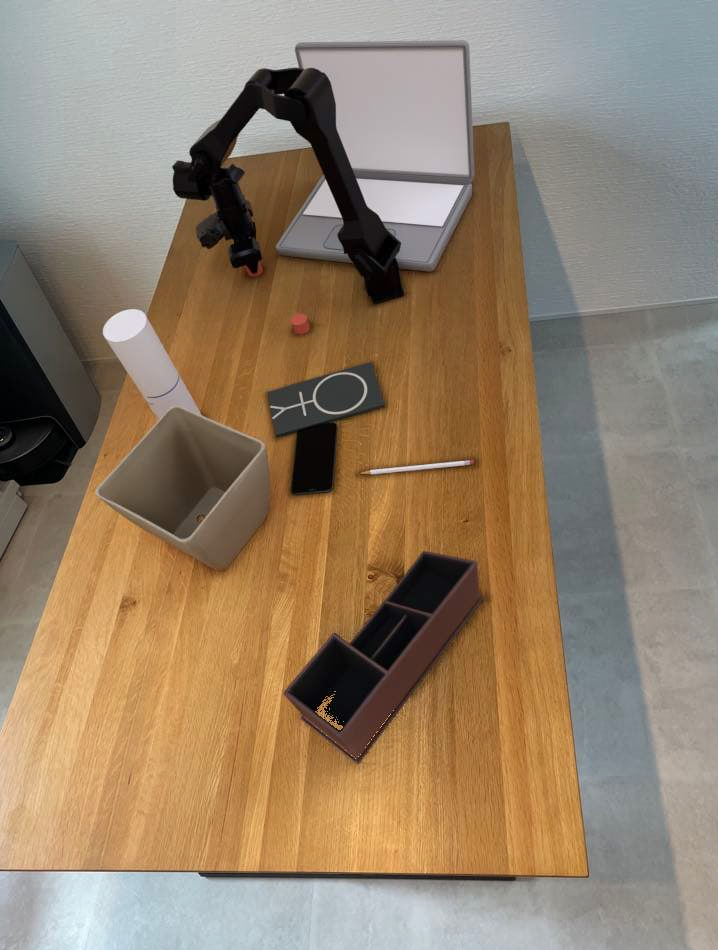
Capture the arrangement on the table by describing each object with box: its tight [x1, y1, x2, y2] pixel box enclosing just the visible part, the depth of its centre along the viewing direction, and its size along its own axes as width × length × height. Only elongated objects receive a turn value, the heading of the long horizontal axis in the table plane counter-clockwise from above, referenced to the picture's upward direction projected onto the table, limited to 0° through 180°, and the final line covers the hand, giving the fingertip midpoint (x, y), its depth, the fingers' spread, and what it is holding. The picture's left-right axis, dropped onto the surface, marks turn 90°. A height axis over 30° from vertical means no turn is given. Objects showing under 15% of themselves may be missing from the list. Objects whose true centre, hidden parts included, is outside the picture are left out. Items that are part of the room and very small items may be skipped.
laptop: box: [275, 39, 476, 273], centre depth 135 cm, size 36×28×29 cm
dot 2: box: [290, 313, 311, 335], centre depth 134 cm, size 3×3×2 cm
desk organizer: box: [283, 550, 486, 766], centre depth 91 cm, size 10×29×11 cm, turn 141°
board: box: [266, 361, 386, 439], centre depth 123 cm, size 20×11×1 cm, turn 101°
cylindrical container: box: [102, 308, 202, 421], centre depth 116 cm, size 7×7×25 cm
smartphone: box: [290, 422, 339, 496], centre depth 117 cm, size 7×1×15 cm
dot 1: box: [244, 261, 263, 278], centre depth 146 cm, size 3×3×2 cm
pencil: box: [360, 459, 475, 475], centre depth 112 cm, size 1×19×1 cm, turn 88°
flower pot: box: [94, 405, 271, 572], centre depth 106 cm, size 19×19×17 cm
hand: (254, 267), depth 146 cm, fingers closed on dot 1, 3 cm apart
